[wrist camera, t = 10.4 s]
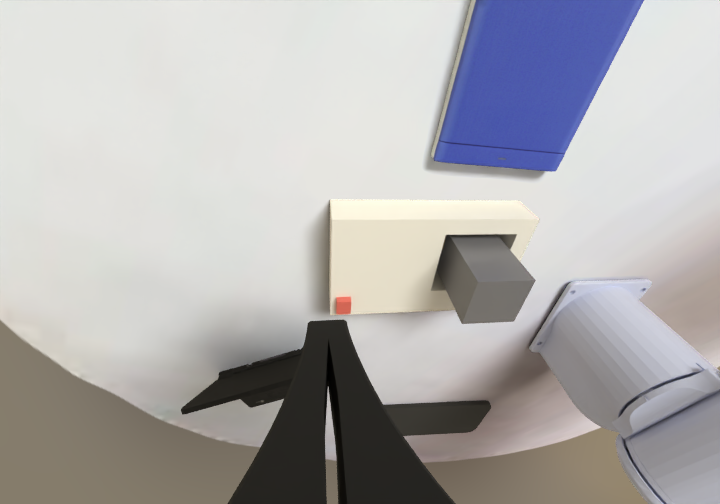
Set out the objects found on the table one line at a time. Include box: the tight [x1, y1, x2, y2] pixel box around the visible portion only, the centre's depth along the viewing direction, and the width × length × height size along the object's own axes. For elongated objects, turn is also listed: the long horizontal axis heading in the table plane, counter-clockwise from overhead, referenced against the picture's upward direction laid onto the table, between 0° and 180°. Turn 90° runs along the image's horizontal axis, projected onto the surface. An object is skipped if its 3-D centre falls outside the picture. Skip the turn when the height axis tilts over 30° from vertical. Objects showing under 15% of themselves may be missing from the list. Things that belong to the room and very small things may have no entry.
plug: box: [437, 234, 535, 324], centre depth 21 cm, size 3×3×6 cm
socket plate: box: [329, 199, 540, 315], centre depth 22 cm, size 8×13×3 cm, turn 87°
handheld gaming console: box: [181, 348, 303, 414], centre depth 28 cm, size 12×7×10 cm
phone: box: [383, 401, 491, 436], centre depth 40 cm, size 7×1×15 cm
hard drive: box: [431, 0, 644, 171], centre depth 16 cm, size 2×8×12 cm
